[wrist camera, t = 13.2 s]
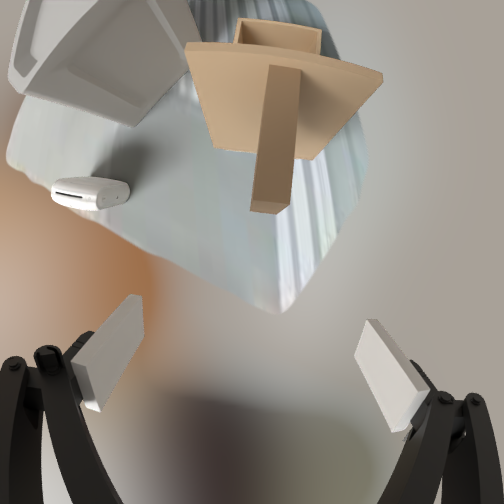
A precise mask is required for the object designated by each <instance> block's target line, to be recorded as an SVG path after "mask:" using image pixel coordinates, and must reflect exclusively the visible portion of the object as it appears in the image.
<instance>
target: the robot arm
mask: <svg viewBox="0 0 504 504" xmlns="http://www.w3.org/2000/svg"><path fill="white" fill-rule="evenodd" d="M143 338H144V325H143V309H142V296H138V295H133V294H130V295H129V296H128V297H127V298H126V299H125V300H124V301H123V302H122V303H121V304H120V305H119V306H118V307H117V309H116V310H115V311H114V312H113V313H112V314H111V315H110V316H109V318H108V319H107V320H106V321H105V322H104V323H103V324H102V325H101V326H100V327H99V329H98V330H97V331H96V332H92V331H88V332H86V333H84V334H82V335H80V337H79V338H78V339H77V340H76V342H74V343H73V344H72V346H70V348H69V349H68V350H67V351H66V352H65V353H64V354H63V355H62V353H61V350H60V349H59V348H58V347H56V346H53V345H45V346H42V347H40V348H38V349H37V350H36V351H35V352H34V359H35V362H36V365H37V368H35V367H28V366H27V364H26V361H25V360H24V359H23V358H22V357H19V356H12V357H10V358H8V359H7V360H5V361H4V363H3V365H2V368H1V371H0V504H44V502H43V492H42V475H41V440H42V423H43V412H44V411H45V414H46V419H47V424H48V429H49V433H50V437H51V441H52V445H53V449H54V452H55V456H56V459H57V462H58V465H59V469H60V472H61V474H62V477H63V480H64V483H65V485H66V488H67V491H68V493H69V496H70V498H71V501H72V503H73V504H123V502H122V500H121V498H120V497H119V495H118V493H117V491H116V489H115V488H114V486H113V484H112V482H111V480H110V478H109V476H108V474H107V472H106V470H105V468H104V466H103V464H102V462H101V459H100V457H99V455H98V452H97V450H96V448H95V445H94V443H93V440H92V438H91V435H90V433H89V430H88V428H87V425H86V422H85V419H84V416H83V413H82V410H81V408H80V403H81V401H82V400H84V403H85V405H86V407H87V408H89V409H92V410H95V411H98V412H101V411H102V409H103V407H104V405H105V404H106V402H107V400H108V398H109V396H110V394H111V393H112V391H113V389H114V387H115V386H116V384H117V382H118V380H119V378H120V377H121V375H122V373H123V372H124V370H125V368H126V366H127V365H128V363H129V361H130V360H131V358H132V356H133V354H134V353H135V351H136V349H137V348H138V346H139V344H140V343H141V341H142V339H143ZM354 357H355V359H356V361H357V363H358V365H359V367H360V369H361V371H362V373H363V375H364V377H365V379H366V380H367V382H368V385H369V386H370V388H371V391H372V393H373V395H374V397H375V398H376V401H377V403H378V405H379V407H380V409H381V411H382V413H383V415H384V417H385V419H386V421H387V423H388V425H389V427H390V429H391V432H396V431H401V430H405V428H406V427H407V426H408V424H409V423H410V422H411V424H412V426H413V427H412V429H411V430H410V432H409V433H408V434H407V435H406V437H405V438H404V440H403V441H405V440H406V439H407V440H406V443H405V445H404V448H403V450H402V453H401V455H400V457H399V460H398V462H397V464H396V467H395V469H394V471H393V473H392V476H391V478H390V480H389V482H388V484H387V486H386V488H385V490H384V492H383V494H382V496H381V498H380V499H379V501H378V503H377V504H433V503H434V501H435V498H436V494H437V491H438V488H439V485H440V481H441V478H442V498H441V504H504V494H503V484H502V475H501V468H500V462H499V456H498V451H497V446H496V441H495V437H494V432H493V428H492V424H491V420H490V417H489V413H488V410H487V407H486V403H485V401H484V399H483V398H482V397H481V395H479V394H476V393H469V394H468V395H467V396H466V398H465V399H464V401H463V400H455V399H454V397H453V396H452V395H451V394H449V393H447V392H444V391H437V389H436V388H435V386H434V385H433V384H432V382H431V381H430V379H429V378H428V377H426V374H425V373H424V372H423V370H422V369H421V368H420V366H419V365H418V364H417V363H415V362H414V361H413V360H409V359H408V358H407V357H406V356H405V354H404V353H403V352H402V350H401V349H400V348H399V347H398V345H397V344H396V343H395V341H394V340H393V339H392V337H391V336H390V335H389V334H388V332H387V331H386V330H385V329H384V327H383V326H382V325H381V323H380V322H379V321H378V320H376V319H367V320H366V323H365V326H364V329H363V332H362V335H361V338H360V341H359V344H358V346H357V349H356V352H355V355H354ZM465 432H466V435H465V434H464V433H465Z"/></svg>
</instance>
